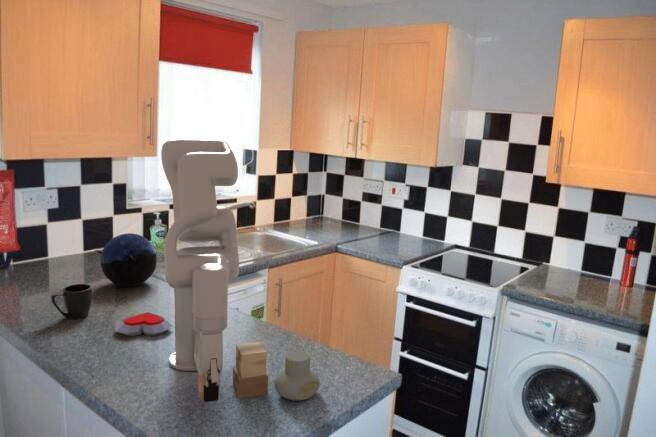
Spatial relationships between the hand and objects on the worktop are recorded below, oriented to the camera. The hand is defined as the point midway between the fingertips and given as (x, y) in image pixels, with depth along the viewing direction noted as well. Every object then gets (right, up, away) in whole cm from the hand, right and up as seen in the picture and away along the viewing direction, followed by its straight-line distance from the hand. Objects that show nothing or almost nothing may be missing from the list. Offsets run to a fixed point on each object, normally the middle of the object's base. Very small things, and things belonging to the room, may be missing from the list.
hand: (208, 393), depth 120 cm
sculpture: (-29, +5, +43) cm, 52 cm away
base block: (+8, -2, +10) cm, 13 cm away
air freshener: (+19, -3, +9) cm, 21 cm away
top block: (+8, +2, +9) cm, 12 cm away
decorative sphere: (-48, +14, +81) cm, 96 cm away
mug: (-54, +8, +48) cm, 73 cm away
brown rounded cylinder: (0, 0, 0) cm, 0 cm away
